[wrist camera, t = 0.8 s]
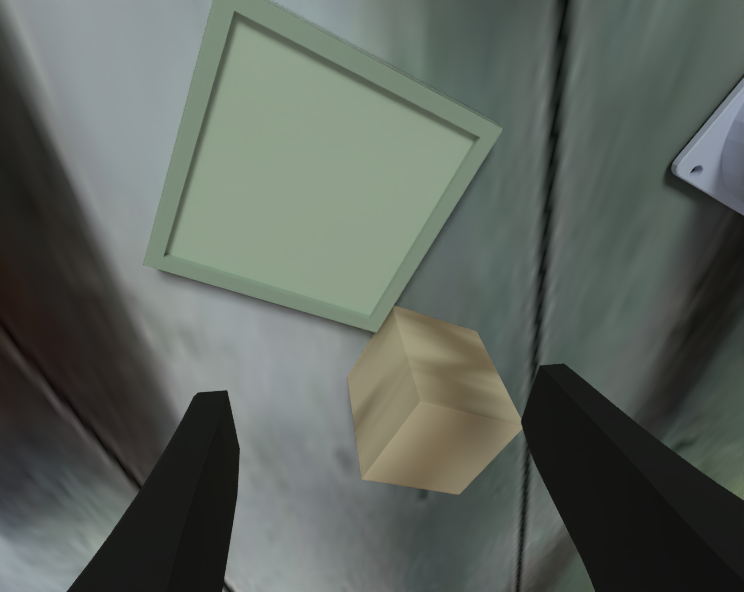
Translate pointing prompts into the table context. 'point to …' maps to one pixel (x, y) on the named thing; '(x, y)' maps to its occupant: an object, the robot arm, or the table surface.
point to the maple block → (428, 404)
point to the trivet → (309, 168)
